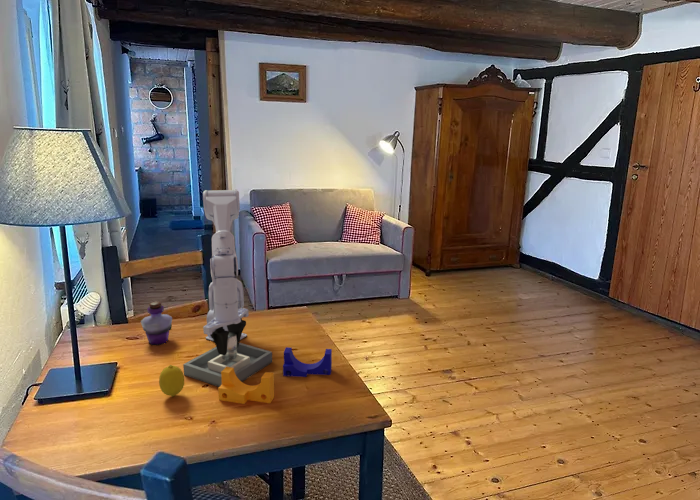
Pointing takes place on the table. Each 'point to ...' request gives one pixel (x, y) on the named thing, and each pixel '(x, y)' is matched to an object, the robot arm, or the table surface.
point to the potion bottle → (157, 324)
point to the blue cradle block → (306, 365)
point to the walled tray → (227, 364)
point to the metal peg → (231, 347)
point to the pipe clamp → (245, 388)
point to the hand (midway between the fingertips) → (228, 350)
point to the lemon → (171, 380)
